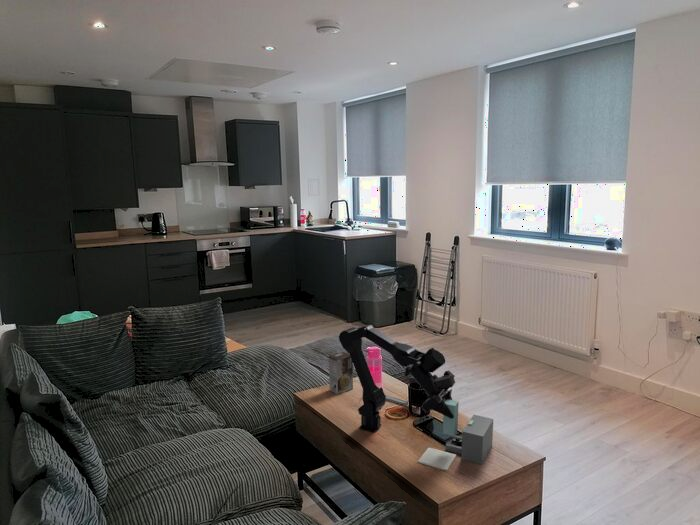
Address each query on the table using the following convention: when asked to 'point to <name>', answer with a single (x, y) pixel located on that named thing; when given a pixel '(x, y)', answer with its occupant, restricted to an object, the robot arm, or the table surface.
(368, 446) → the table surface
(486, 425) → the charging dock
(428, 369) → the robot arm
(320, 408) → the table surface
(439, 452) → the mat
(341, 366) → the coffee box
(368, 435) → the table surface
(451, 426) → the key block
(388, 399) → the adjustable wrench
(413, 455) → the table surface
